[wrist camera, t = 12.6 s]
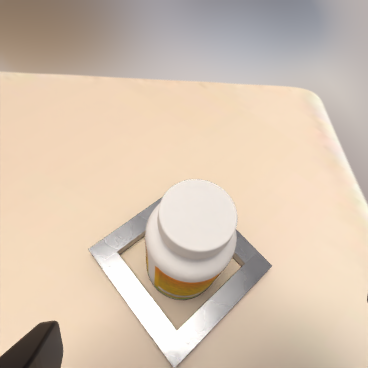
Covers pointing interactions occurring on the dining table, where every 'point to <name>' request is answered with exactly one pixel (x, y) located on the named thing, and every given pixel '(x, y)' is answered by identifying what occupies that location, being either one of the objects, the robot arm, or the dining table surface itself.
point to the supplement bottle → (190, 238)
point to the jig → (147, 308)
